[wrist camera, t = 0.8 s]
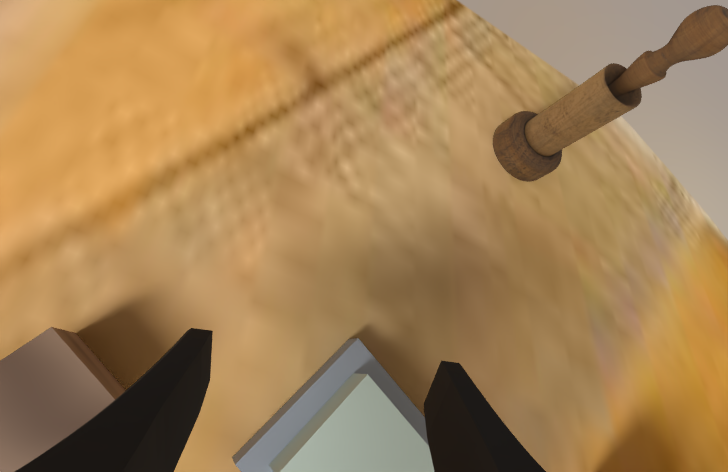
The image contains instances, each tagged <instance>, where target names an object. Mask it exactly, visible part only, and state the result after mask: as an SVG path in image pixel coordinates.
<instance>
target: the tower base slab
mask: <svg viewBox="0 0 728 472" xmlns="http://www.w3.org/2000/svg"><path fill="white" fill-rule="evenodd" d="M353 373H355V374H368V375H369V376H370V378H371V379H372V380H373V381H374V382H375V383H376V385H377V386H378V387H379V388H380V389H381V390H382V392H383V393H384V394H385V395H386V396H387V398H388V399H389V400H390V401H391V402H392V403H393V405H394V406H395V407H396V408H397V409H398V410H399V412H400V413H401V414H402V415H403V416H404V418H405V419H406V420H407V421H408V422H409V423H410V425H411V426H412V427H413V428H414V429H415V431H416V432H417V433H418V434H419V435H420V436H421V438H422V439H423V440H424V441H425V442H426V443H427V445H428V446H429V444H428V439H427V432H426V423H425V417H424V416H423V415H422V414H421V412H420V411H419V410H418V409H417V408H416V406H415V405H414V404H413V403H412V402H411V400H410V399H409V398H408V397H407V396H406V394H405V393H404V392H403V391H402V390H401V388H400V387H399V386H398V385H397V384H396V383H395V381H394V380H393V379H392V378H391V377H390V375H389V374H388V373H387V372H386V371H385V369H384V368H383V367H382V366H381V365H380V363H379V362H378V361H377V360H376V359H375V357H374V356H373V355H372V354H371V353H370V352H369V350H368V349H367V348H366V347H365V346H364V344H363V343H362V342H361V341H360V340H359V338H355V339H348V340H347V341H346V342H345V343H344V345H343V346H342V347H341V348H340V349H339V350H338V351H337V352H336V353H335V354H334V355H333V356H332V357H331V358H330V359H329V360H328V361H327V362H326V363H325V364H324V365H323V366H322V367H321V368H320V369H319V370H318V371H317V372H316V373H315V374H314V375H313V376H312V377H311V378H310V379H309V380H308V381H307V382H306V383H305V384H304V385H303V386H302V387H301V388H300V389H299V390H298V391H297V392H296V393H295V394H294V395H293V396H292V397H291V398H290V399H289V400H288V401H287V402H286V403H285V404H284V405H283V406H282V407H281V408H280V409H279V410H278V411H277V412H276V413H275V414H274V415H273V416H272V417H271V418H270V419H269V421H268V422H267V423H266V424H265V425H264V426H263V427H262V428H261V429H260V430H259V431H258V432H257V433H256V434H255V435H254V436H253V437H252V438H251V439H250V440H249V441H248V442H247V443H246V444H245V445H244V446H243V447H242V448H241V449H240V450H239V451H238V452H237V453H236V454H235V455H234V456H233V457H232V458H233V461H234V463H235V465H236V466H237V467H238V468H239V470H240V471H241V472H274V471H273V470H272V469H271V467H270V466H269V464H270V463H271V462H272V461H273V460H274V459H275V457H276V456H277V455H278V454H279V453H280V452H281V451H282V450H283V449H284V448H285V447H286V446H287V444H288V443H289V442H290V441H291V440H292V439H293V438H294V437H295V436H296V435H297V434H298V433H299V431H300V430H301V429H302V428H303V427H304V426H305V425H306V424H307V423H308V422H309V421H310V420H311V418H312V417H313V416H314V415H315V414H316V413H317V412H318V411H319V410H320V409H321V408H322V407H323V405H324V404H325V403H326V402H327V401H328V400H329V399H330V398H331V397H332V396H333V395H334V393H335V392H336V391H337V390H338V389H339V388H340V387H341V386H342V385H343V384H344V383H345V382H346V380H347V379H348V378H349V377H350V376H351V375H352V374H353Z"/></svg>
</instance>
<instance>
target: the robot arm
mask: <svg viewBox="0 0 728 472" xmlns="http://www.w3.org/2000/svg"><path fill="white" fill-rule="evenodd" d="M211 350H212V331H209V330H202V329H194V328H191V329H189V330H188V331H187V332H186V333H185V334H184V335H183V336H182V337H181V338H180V339H179V340H178V341H177V343H176V344H175V345H174V346H173V347H172V348H171V349H170V350H169V351H168V352H167V353H166V354H165V355H164V356H163V357H162V358H161V359H160V360H159V361H158V362H157V363H156V364H155V365H153V366H152V367H151V368H150V369H149V370H148V371H147V372H146V373H145V374H144V375H143V376H142V377H141V378H140V379H139V380H137V381H136V382H135V383H134V384H133V385H132V386H131V387H129V388H128V389H127V390H126V391H125V392H124V393H122V394H121V395H120V396H119V397H118V398H117V399H115V400H114V401H113V402H112V403H111V404H109V405H108V406H107V407H106V408H104V409H103V410H102V411H101V412H99V413H98V414H97V415H96V416H94V417H93V418H92V419H90V420H89V421H88V422H87V423H85V424H84V425H82V426H81V427H80V428H78V429H77V430H76V431H74V432H73V433H72V434H70V435H69V436H67V437H66V438H64V439H63V440H62V441H60V442H59V443H57V444H56V445H54V446H53V447H51V448H50V449H49V450H47V451H46V452H44V453H43V454H41V455H40V456H38V457H37V458H35V459H34V460H32V461H31V462H29V463H27V464H26V465H24V466H23V467H21V468H19V469H18V470H16V471H14V472H174V470H175V467H176V465H177V463H178V461H179V458H180V456H181V454H182V452H183V449H184V447H185V445H186V443H187V440H188V438H189V436H190V433H191V431H192V429H193V427H194V424H195V422H196V420H197V417H198V415H199V413H200V410H201V407H202V403H203V400H204V397H205V394H206V391H207V388H208V384H209V381H210V369H211ZM424 412H425V423H426V432H427V439H428V444H429V449H430V453H431V458H432V463H433V467H434V472H546V471H545V470H544V469H543V468H542V467H541V466H540V465H539V464H538V463H537V462H536V461H535V460H534V459H533V457H532V456H531V455H530V454H529V453H528V452H527V451H526V449H525V448H524V447H523V446H522V445H521V444H520V442H519V441H518V440H517V439H516V438H515V436H514V435H513V434H512V433H511V432H510V430H509V429H508V428H507V427H506V425H505V424H504V423H503V422H502V420H501V419H500V418H499V416H498V415H497V414H496V413H495V411H494V410H493V409H492V407H491V406H490V405H489V403H488V402H487V401H486V399H485V398H484V396H483V395H482V394H481V392H480V391H479V390H478V388H477V387H476V385H475V384H474V383H473V381H472V380H471V379H470V377H469V376H468V374H467V373H466V372H465V370H464V369H463V368H462V366H461V365H460V364H459V363H454V362H447V361H441V363H440V365H439V368H438V370H437V373H436V375H435V378H434V380H433V383H432V385H431V388H430V390H429V393H428V395H427V398H426V400H425V403H424Z"/></svg>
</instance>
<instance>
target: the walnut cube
mask: <svg viewBox="0 0 728 472" xmlns="http://www.w3.org/2000/svg"><path fill="white" fill-rule="evenodd" d="M125 391H126V390H125V389H124V388H123V387H122V385H121V384H120V383H119V382H118V381H117V380H116V379H115V377H114V376H113V375H112V374H111V373H110V372H109V371H108V369H107V368H106V367H105V366H104V365H103V364H102V363H101V361H100V360H99V359H98V358H97V357H96V356H95V355H94V353H93V352H92V351H91V350H90V349H89V348H88V347H87V345H86V344H85V343H84V342H83V341H82V340H81V339H80V337H79V336H78V335H77V334H76V333H73V332H69V331H65V330H61V329H57V328H53V327H51V328H49V329H48V330H46V331H45V332H43V333H42V334H40V335H39V336H37V337H35V338H34V339H32V340H31V341H29V342H28V343H26V344H25V345H23V346H22V347H20V348H19V349H17V350H16V351H14V352H13V353H11V354H10V355H8V356H7V357H5V358H4V359H2V360H1V361H0V471H1V472H14V471H16V470H18V469H19V468H21V467H23V466H24V465H26V464H27V463H29V462H31V461H32V460H34V459H35V458H37V457H38V456H40V455H41V454H43V453H44V452H46V451H47V450H49V449H50V448H51V447H53V446H54V445H56V444H57V443H59V442H60V441H62V440H63V439H64V438H66V437H67V436H69V435H70V434H72V433H73V432H74V431H76V430H77V429H78V428H80V427H81V426H82V425H84V424H85V423H87V422H88V421H89V420H90V419H92V418H93V417H94V416H96V415H97V414H98V413H99V412H101V411H102V410H103V409H104V408H106V407H107V406H108V405H109V404H111V403H112V402H113V401H114V400H115V399H117V398H118V397H119V396H120V395H121V394H122V393H124V392H125Z"/></svg>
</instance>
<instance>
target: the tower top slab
mask: <svg viewBox="0 0 728 472" xmlns="http://www.w3.org/2000/svg"><path fill="white" fill-rule="evenodd" d="M269 466H270V467H271V469H272V470H273V471H274V472H434V467H433V463H432V458H431V453H430V449H429V446H428V445H427V443H426V442H425V441H424V440H423V439H422V438H421V436H420V435H419V434H418V433H417V432H416V431H415V429H414V428H413V427H412V426H411V425H410V423H409V422H408V421H407V420H406V419H405V418H404V416H403V415H402V414H401V413H400V412H399V410H398V409H397V408H396V407H395V406H394V405H393V403H392V402H391V401H390V400H389V399H388V398H387V396H386V395H385V394H384V393H383V392H382V390H381V389H380V388H379V387H378V386H377V385H376V383H375V382H374V381H373V380H372V379H371V378H370V376H369V375H368V374H355V373H353V374H352V375H351V376H350V377H349V378H348V379H347V380H346V382H345V383H344V384H343V385H342V386H341V387H340V388H339V389H338V390H337V391H336V392H335V393H334V395H333V396H332V397H331V398H330V399H329V400H328V401H327V402H326V403H325V404H324V405H323V407H322V408H321V409H320V410H319V411H318V412H317V413H316V414H315V415H314V416H313V417H312V418H311V420H310V421H309V422H308V423H307V424H306V425H305V426H304V427H303V428H302V429H301V430H300V431H299V433H298V434H297V435H296V436H295V437H294V438H293V439H292V440H291V441H290V442H289V443H288V444H287V446H286V447H285V448H284V449H283V450H282V451H281V452H280V453H279V454H278V455H277V456H276V457H275V459H274V460H273V461H272V462H271V463H270V464H269Z"/></svg>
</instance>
